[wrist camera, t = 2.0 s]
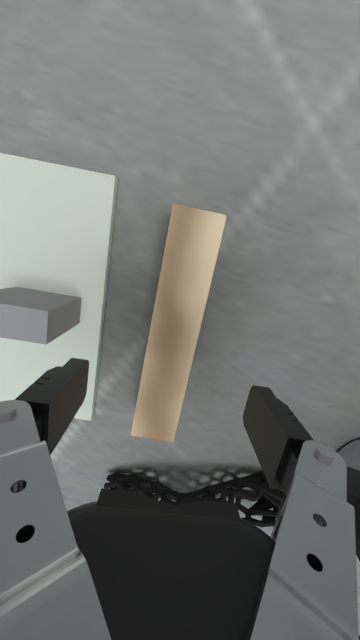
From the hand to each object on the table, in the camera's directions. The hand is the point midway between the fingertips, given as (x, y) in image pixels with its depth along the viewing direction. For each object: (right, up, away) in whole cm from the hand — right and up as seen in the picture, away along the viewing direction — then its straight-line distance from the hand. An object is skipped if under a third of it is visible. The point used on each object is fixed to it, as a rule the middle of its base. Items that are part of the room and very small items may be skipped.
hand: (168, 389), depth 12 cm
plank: (0, +3, +13) cm, 13 cm away
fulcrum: (-12, +5, +12) cm, 17 cm away
